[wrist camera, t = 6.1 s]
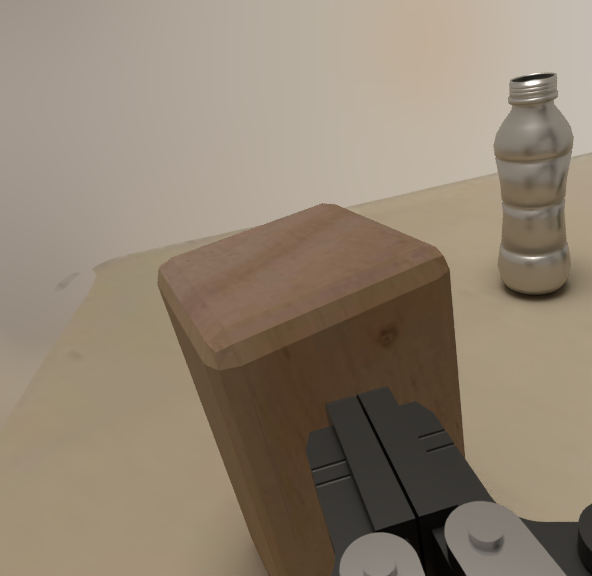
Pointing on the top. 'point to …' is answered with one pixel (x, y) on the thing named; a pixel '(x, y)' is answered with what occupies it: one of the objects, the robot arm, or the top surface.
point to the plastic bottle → (533, 187)
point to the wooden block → (307, 354)
